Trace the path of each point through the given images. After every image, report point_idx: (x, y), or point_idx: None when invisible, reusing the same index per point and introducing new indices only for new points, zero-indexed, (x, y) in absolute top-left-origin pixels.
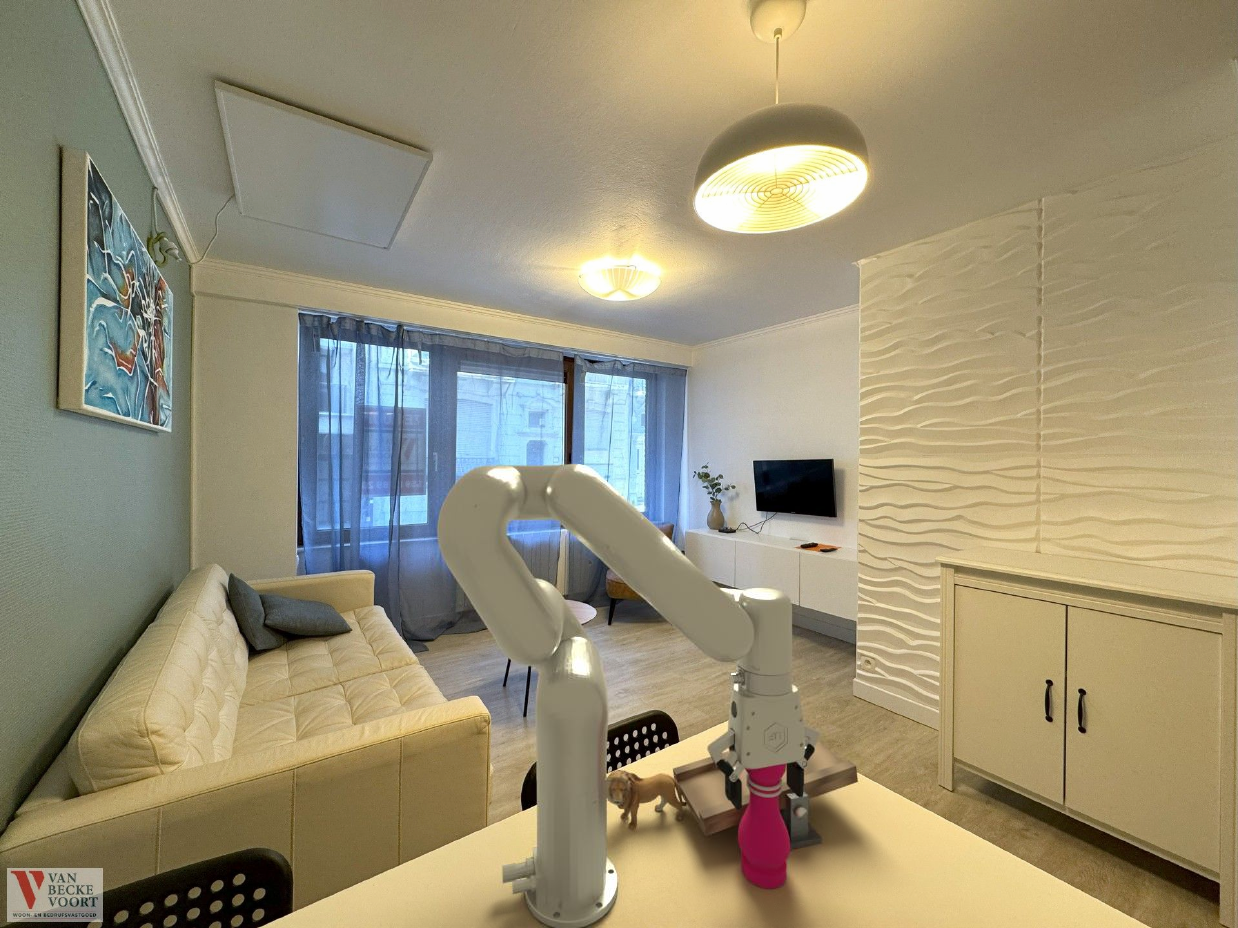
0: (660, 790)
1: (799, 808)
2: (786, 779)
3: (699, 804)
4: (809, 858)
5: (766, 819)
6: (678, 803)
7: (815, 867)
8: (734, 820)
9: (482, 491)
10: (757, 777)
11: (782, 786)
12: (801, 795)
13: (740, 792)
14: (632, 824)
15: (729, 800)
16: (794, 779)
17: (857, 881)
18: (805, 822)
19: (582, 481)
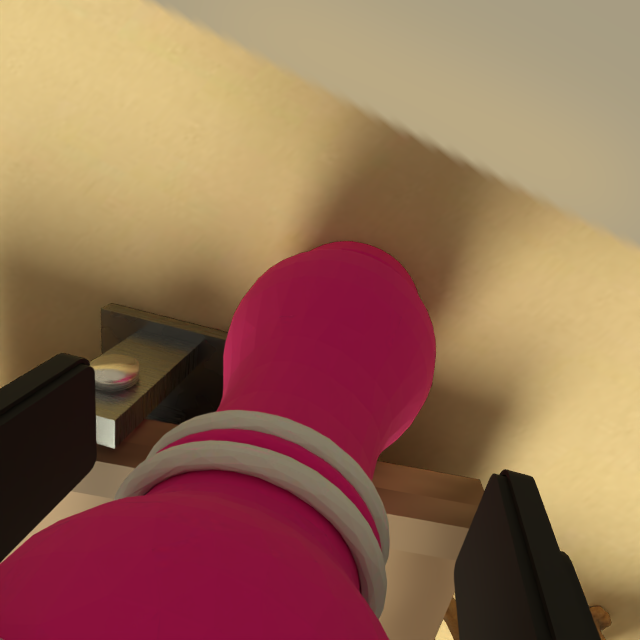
0: None
1: (109, 381)
2: (77, 484)
3: (428, 581)
4: (185, 277)
5: (345, 364)
6: (447, 611)
7: (191, 244)
8: None
9: None
10: (375, 620)
11: (106, 482)
12: (69, 358)
13: (539, 566)
14: (601, 622)
15: (561, 551)
16: (30, 449)
17: (106, 142)
18: (119, 352)
19: None
